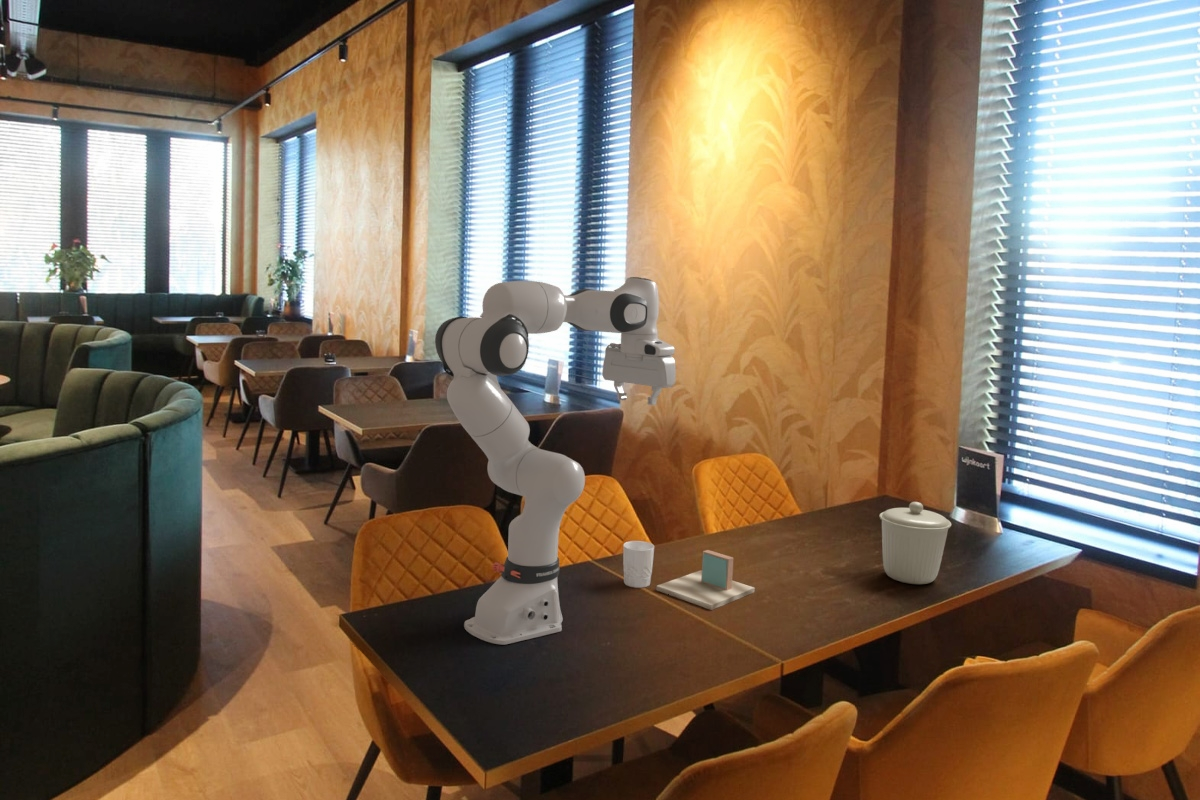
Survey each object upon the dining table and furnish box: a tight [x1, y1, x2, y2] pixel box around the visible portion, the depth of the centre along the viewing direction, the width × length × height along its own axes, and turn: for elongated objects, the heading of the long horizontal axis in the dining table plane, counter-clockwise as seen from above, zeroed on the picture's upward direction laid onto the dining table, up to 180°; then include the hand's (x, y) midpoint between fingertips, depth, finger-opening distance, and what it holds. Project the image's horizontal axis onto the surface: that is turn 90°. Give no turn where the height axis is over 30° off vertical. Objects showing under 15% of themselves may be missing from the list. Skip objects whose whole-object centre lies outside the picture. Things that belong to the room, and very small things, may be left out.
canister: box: [878, 501, 952, 585], centre depth 228 cm, size 18×18×21 cm
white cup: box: [622, 540, 655, 589], centre depth 216 cm, size 8×8×10 cm
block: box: [701, 549, 735, 590], centre depth 214 cm, size 2×8×8 cm, turn 46°
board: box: [656, 569, 756, 611], centre depth 213 cm, size 18×17×1 cm
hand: (636, 402), depth 207 cm, fingers open, 8 cm apart
